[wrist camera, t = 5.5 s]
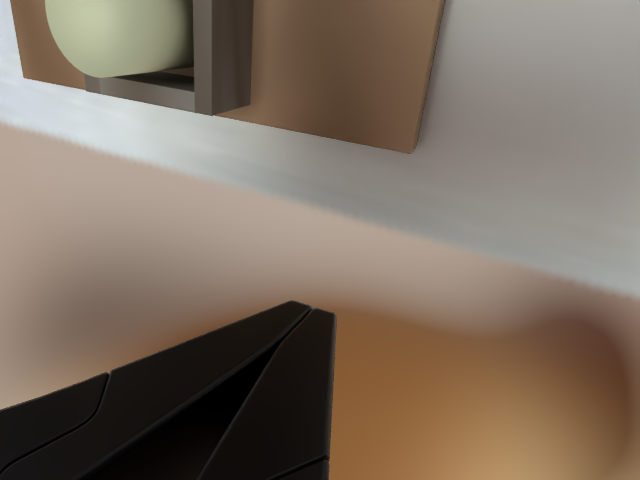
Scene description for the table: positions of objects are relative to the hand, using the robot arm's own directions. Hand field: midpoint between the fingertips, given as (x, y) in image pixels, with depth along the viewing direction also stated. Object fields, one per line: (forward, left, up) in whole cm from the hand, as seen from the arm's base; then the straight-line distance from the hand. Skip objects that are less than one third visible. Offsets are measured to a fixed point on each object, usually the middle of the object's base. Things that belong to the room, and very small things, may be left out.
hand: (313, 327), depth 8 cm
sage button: (+10, -4, -10) cm, 15 cm away
